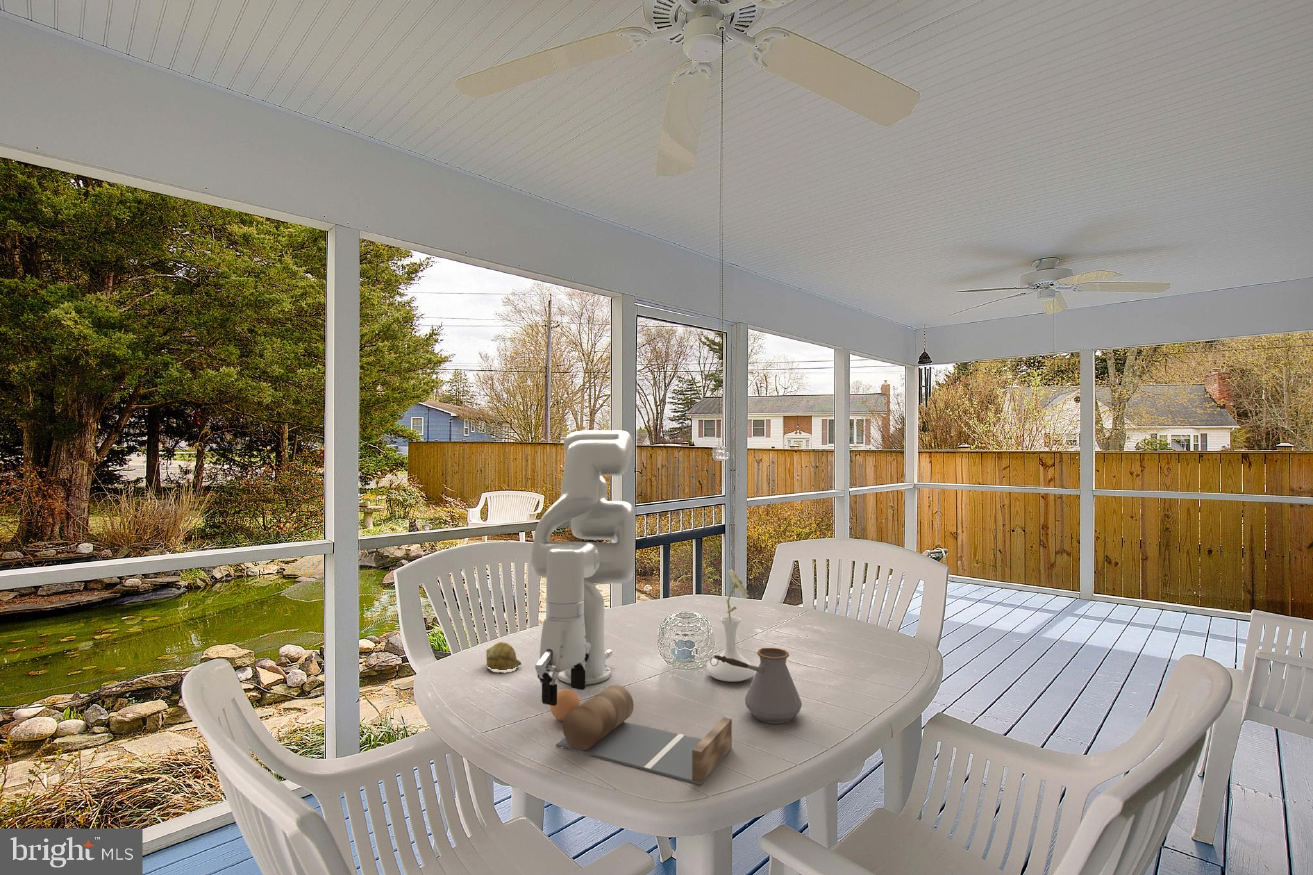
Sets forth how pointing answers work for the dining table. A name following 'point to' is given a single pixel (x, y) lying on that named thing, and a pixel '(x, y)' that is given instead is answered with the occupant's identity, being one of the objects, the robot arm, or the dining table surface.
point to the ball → (565, 703)
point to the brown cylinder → (597, 717)
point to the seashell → (502, 657)
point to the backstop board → (711, 749)
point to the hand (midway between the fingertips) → (564, 696)
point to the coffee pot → (770, 687)
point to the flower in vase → (731, 644)
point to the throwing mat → (646, 750)
